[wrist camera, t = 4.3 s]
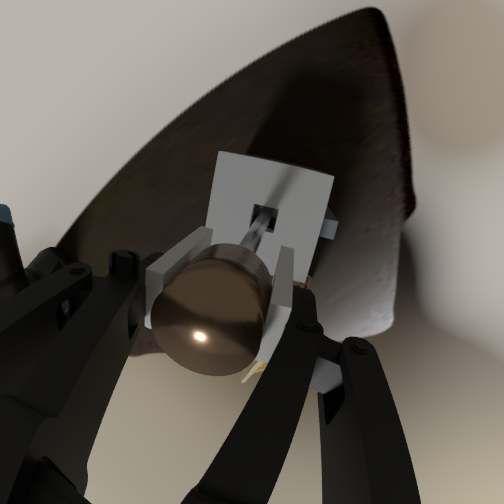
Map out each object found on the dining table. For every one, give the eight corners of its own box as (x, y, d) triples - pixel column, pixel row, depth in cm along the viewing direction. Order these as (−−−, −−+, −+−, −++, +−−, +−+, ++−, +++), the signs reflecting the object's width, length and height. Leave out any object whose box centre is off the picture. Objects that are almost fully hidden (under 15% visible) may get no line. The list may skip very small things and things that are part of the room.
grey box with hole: (231, 224, 42) (201, 257, 29) (245, 153, 38) (218, 150, 25) (315, 245, 41) (323, 287, 28) (333, 174, 37) (354, 182, 24)
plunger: (228, 233, 33) (113, 371, 11) (241, 166, 31) (103, 192, 8) (295, 249, 33) (286, 425, 10) (312, 182, 30) (362, 252, 7)
